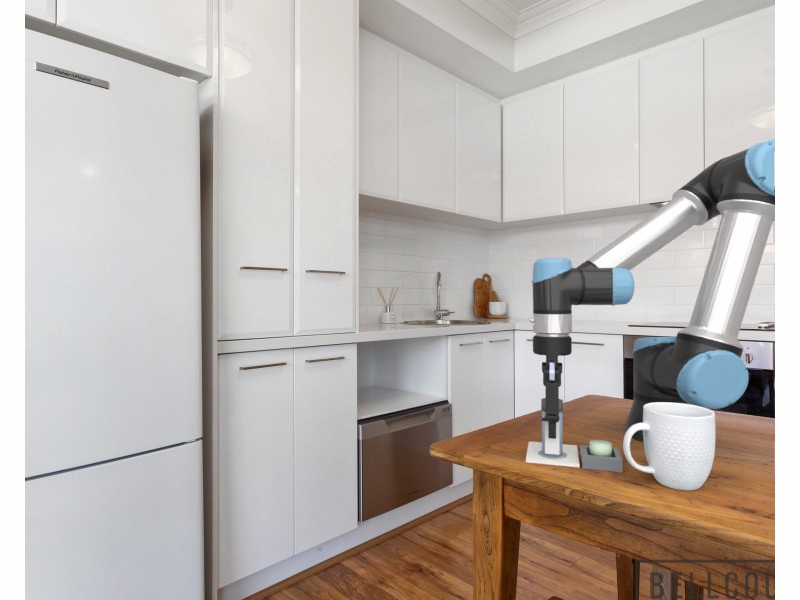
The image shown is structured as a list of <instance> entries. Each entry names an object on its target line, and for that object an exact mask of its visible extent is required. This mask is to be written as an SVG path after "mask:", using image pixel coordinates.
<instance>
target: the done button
mask: <svg viewBox="0 0 800 600" xmlns="http://www.w3.org/2000/svg"><path fill="white" fill-rule="evenodd" d="M589 446H590V455H594V456H605V457H612V448H613V444H612V442H610V441H608V440H603V439H592V440H590V441H589Z"/></svg>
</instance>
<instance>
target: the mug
mask: <svg viewBox="0 0 800 600" xmlns="http://www.w3.org/2000/svg"><path fill="white" fill-rule="evenodd" d="M716 428H717V427H716V414H715V412H714V410H713V409H708V408H704V407H700V406H695V405H690V404H682V403H670V402H655V403H648V404H645V405H644V407H643V423H637V424H634V425H633V426H631V427H630V428H629V429H628V430H627V432H625V434H624V436H623V439H622V440H623V441H622V442H623V443H622V447H623V448H622V449H623V453H624V456H625V459H626V460H627V462H628V463H629V464H630V466H632V467H633V468H635V469H636V470H638V471H641V472H643V473H648V474H651V475H653V477H654V479H655V481H657V482H658V483H659V484H660V485H662V486H664V487H667V488H669V489H672V490H673V489H675V490H679V491H696V490H698V489H700V488H701V487H702V486H703V485H704V483H705V482H706V481H707V479H708V477H709V475H710V473H711V470H712V468H713V464H714V461H715V460H714V459H715V454H716V431H717V430H716ZM639 430H643V439H644V440H643V441H642V442H643V447H644V452H645V454H644V455H645V457H646V461H647V464H648V465H641V464H640V463H637V462H636V461H635V460H634V458H633V456H632V453H631V440H632V436H633V434H634V433H635V432H637V431H639Z"/></svg>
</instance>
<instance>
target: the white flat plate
mask: <svg viewBox="0 0 800 600" xmlns="http://www.w3.org/2000/svg"><path fill="white" fill-rule="evenodd" d="M526 450H527V451H526V456H525V463H529V464H539V465H550V466H561V467H570V468H571V467H572V468H580V466H581V465H580V459H579V452H578V451H579V450H578V445H577V444H576V445H575V444H565V443H563V455H562V456H561V457H548V456H545V455H543V454H542V441H541V442H539V441H530V440H529V441H528V445H527V449H526Z"/></svg>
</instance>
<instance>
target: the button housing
mask: <svg viewBox="0 0 800 600" xmlns="http://www.w3.org/2000/svg"><path fill="white" fill-rule="evenodd" d="M580 461H581V469H583V470H584V469H585V470H591V471H593V470H594V471H601V472H602V471H603V472H613V473H614V472H615V473H621V474H622V473H623V469H624V467H623V465H624V462H623V461H624V460H623V457H622V455H621V452H620V449H619V447H612V457H605V456H594V455H590V445H587V444H586V445H584V444H581V445H580Z"/></svg>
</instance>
